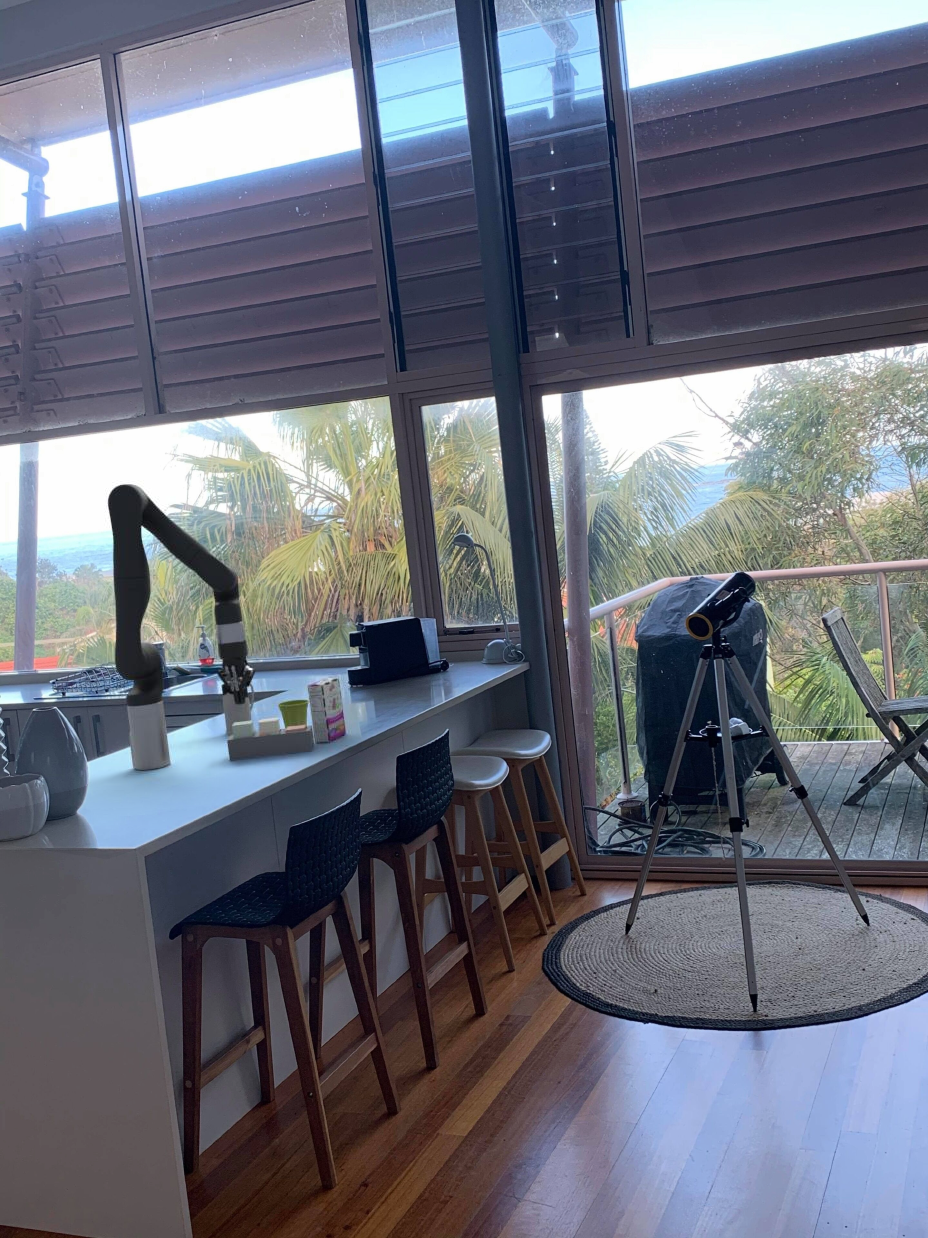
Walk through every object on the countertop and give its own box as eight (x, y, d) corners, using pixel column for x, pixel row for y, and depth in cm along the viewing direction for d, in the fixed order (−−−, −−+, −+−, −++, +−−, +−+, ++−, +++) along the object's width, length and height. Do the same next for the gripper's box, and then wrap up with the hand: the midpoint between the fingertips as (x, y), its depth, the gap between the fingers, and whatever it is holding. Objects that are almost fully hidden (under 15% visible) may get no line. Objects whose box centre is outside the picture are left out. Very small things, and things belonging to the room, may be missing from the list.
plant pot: (315, 726, 342) (312, 698, 341) (308, 733, 333) (305, 703, 332) (285, 729, 343) (281, 701, 342) (277, 735, 334) (273, 706, 333)
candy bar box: (330, 734, 326) (324, 678, 324) (346, 734, 324) (340, 677, 323) (313, 743, 315) (306, 684, 314) (329, 742, 314) (323, 683, 312)
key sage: (234, 744, 304) (231, 725, 304) (236, 740, 309) (234, 722, 309) (253, 742, 304) (250, 723, 304) (254, 738, 309) (252, 720, 309)
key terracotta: (288, 748, 305) (285, 730, 305) (289, 744, 310) (287, 726, 310) (306, 746, 306) (304, 727, 305) (307, 742, 311) (305, 724, 310)
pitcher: (219, 735, 344) (213, 686, 343) (245, 726, 358) (239, 678, 356) (244, 734, 341) (238, 685, 340) (269, 725, 354) (263, 677, 353)
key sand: (260, 741, 305) (258, 722, 304) (262, 737, 310) (260, 719, 309) (279, 738, 305) (277, 720, 305) (280, 735, 310) (278, 717, 309)
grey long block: (229, 760, 303) (226, 738, 302) (233, 754, 311) (230, 733, 310) (312, 750, 304) (310, 729, 304) (314, 745, 312) (311, 724, 312)
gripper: (204, 643, 305) (213, 707, 307) (238, 641, 297) (247, 706, 299) (225, 639, 311) (233, 701, 313) (259, 637, 303) (267, 701, 305)
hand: (240, 704), depth 306 cm, fingers closed
